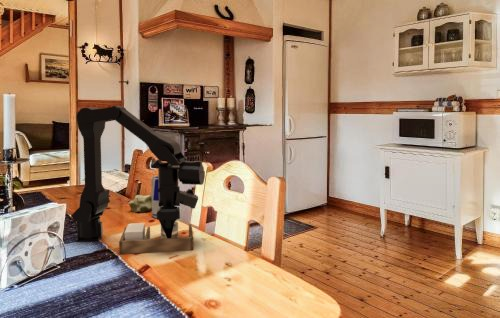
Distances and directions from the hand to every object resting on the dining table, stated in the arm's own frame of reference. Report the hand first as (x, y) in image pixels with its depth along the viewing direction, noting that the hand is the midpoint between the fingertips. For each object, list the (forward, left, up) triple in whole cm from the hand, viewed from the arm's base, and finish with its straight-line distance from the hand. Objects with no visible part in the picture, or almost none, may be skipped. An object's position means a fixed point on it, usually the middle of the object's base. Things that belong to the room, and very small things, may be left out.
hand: (169, 235), depth 120 cm
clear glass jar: (0, 0, -2) cm, 2 cm away
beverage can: (-4, +30, -3) cm, 31 cm away
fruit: (-11, +41, -3) cm, 43 cm away
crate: (-3, -1, -2) cm, 4 cm away
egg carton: (-10, -1, -2) cm, 10 cm away
